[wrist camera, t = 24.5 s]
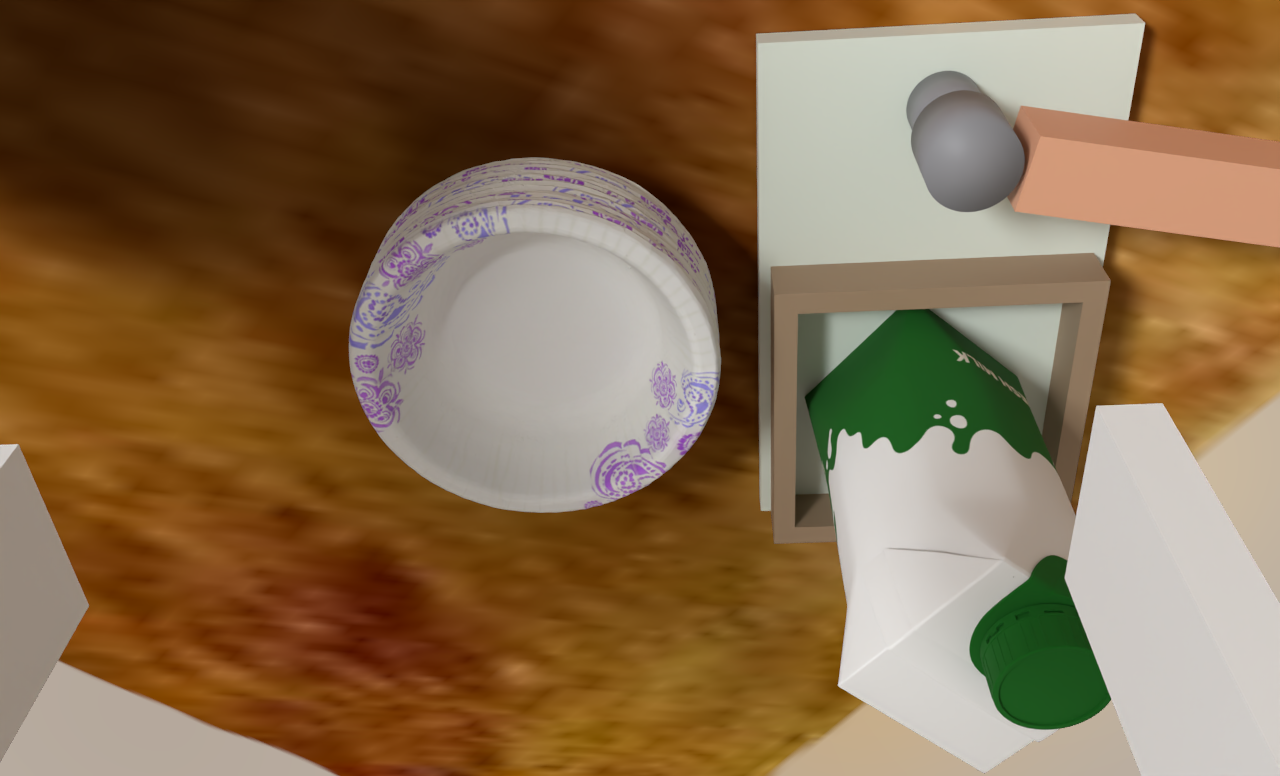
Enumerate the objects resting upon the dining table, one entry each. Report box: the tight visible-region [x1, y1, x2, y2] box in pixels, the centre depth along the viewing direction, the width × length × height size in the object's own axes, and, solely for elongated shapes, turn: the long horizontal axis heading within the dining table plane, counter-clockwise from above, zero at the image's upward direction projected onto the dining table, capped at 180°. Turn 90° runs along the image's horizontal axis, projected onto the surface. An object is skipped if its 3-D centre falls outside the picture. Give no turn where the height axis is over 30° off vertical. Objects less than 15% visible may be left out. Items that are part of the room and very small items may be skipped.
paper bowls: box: [349, 157, 721, 513], centre depth 52 cm, size 15×15×8 cm
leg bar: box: [911, 90, 1280, 247], centre depth 45 cm, size 17×4×3 cm, turn 82°
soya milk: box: [805, 309, 1111, 773], centre depth 48 cm, size 9×9×20 cm
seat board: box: [756, 14, 1145, 544], centre depth 53 cm, size 15×24×4 cm, turn 3°
